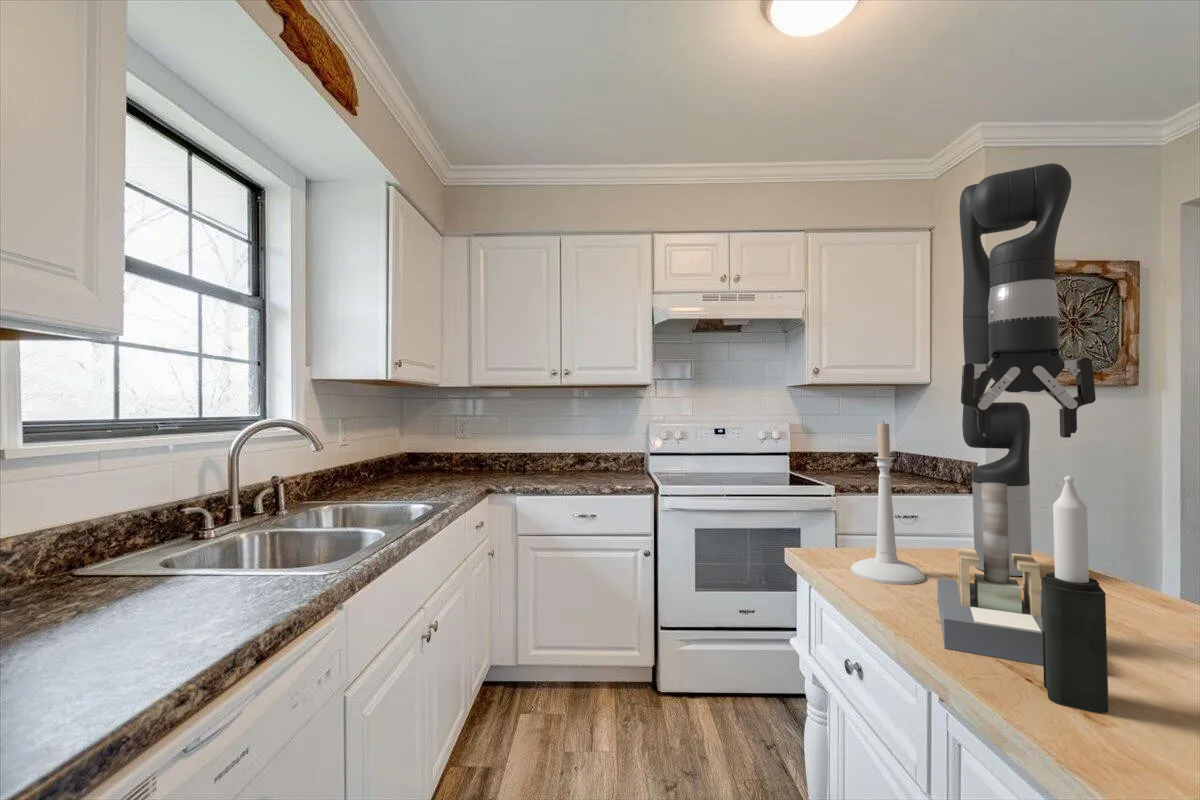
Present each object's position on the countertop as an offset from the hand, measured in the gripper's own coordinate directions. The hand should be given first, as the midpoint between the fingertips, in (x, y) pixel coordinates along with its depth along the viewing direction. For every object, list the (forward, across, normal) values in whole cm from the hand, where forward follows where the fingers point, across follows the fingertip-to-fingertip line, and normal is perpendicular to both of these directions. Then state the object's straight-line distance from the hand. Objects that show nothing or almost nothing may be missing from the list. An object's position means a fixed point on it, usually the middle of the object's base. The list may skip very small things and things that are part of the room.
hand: (1025, 436), depth 74 cm
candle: (+28, -2, +14) cm, 32 cm away
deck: (+29, +3, -4) cm, 29 cm away
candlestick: (+30, +18, -27) cm, 44 cm away
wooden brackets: (+25, +3, -4) cm, 25 cm away
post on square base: (+25, +3, -4) cm, 25 cm away
